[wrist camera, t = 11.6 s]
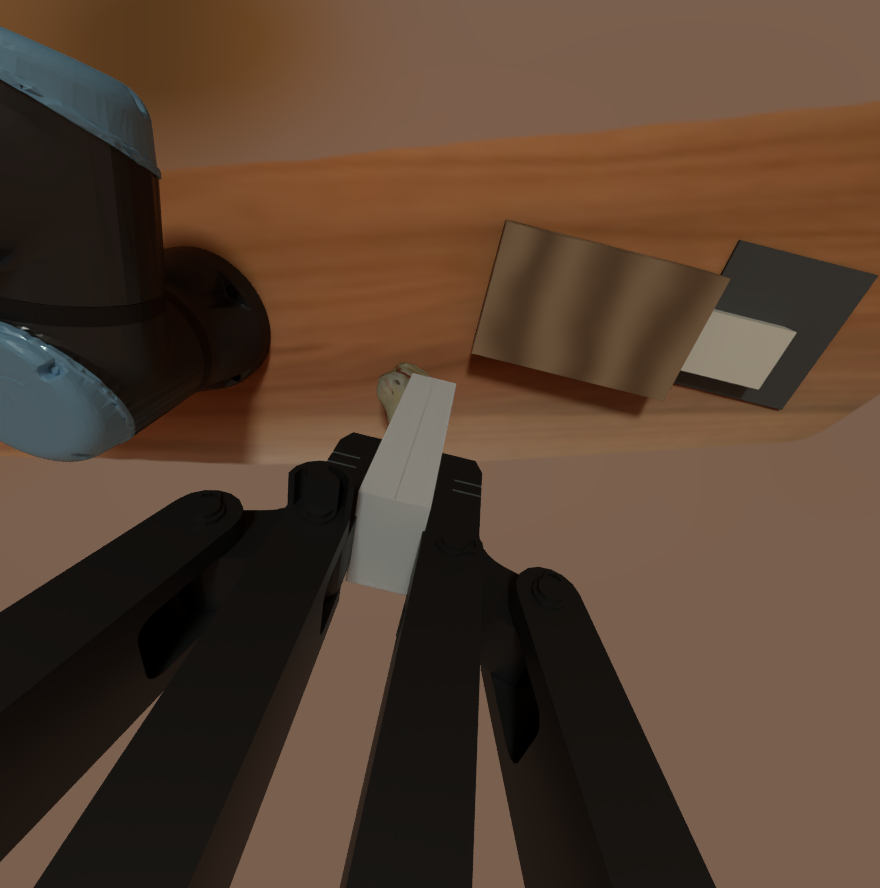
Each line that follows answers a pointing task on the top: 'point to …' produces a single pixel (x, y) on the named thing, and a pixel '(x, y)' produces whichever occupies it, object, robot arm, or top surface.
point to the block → (738, 349)
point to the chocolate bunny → (395, 386)
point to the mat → (785, 313)
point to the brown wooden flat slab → (593, 310)
